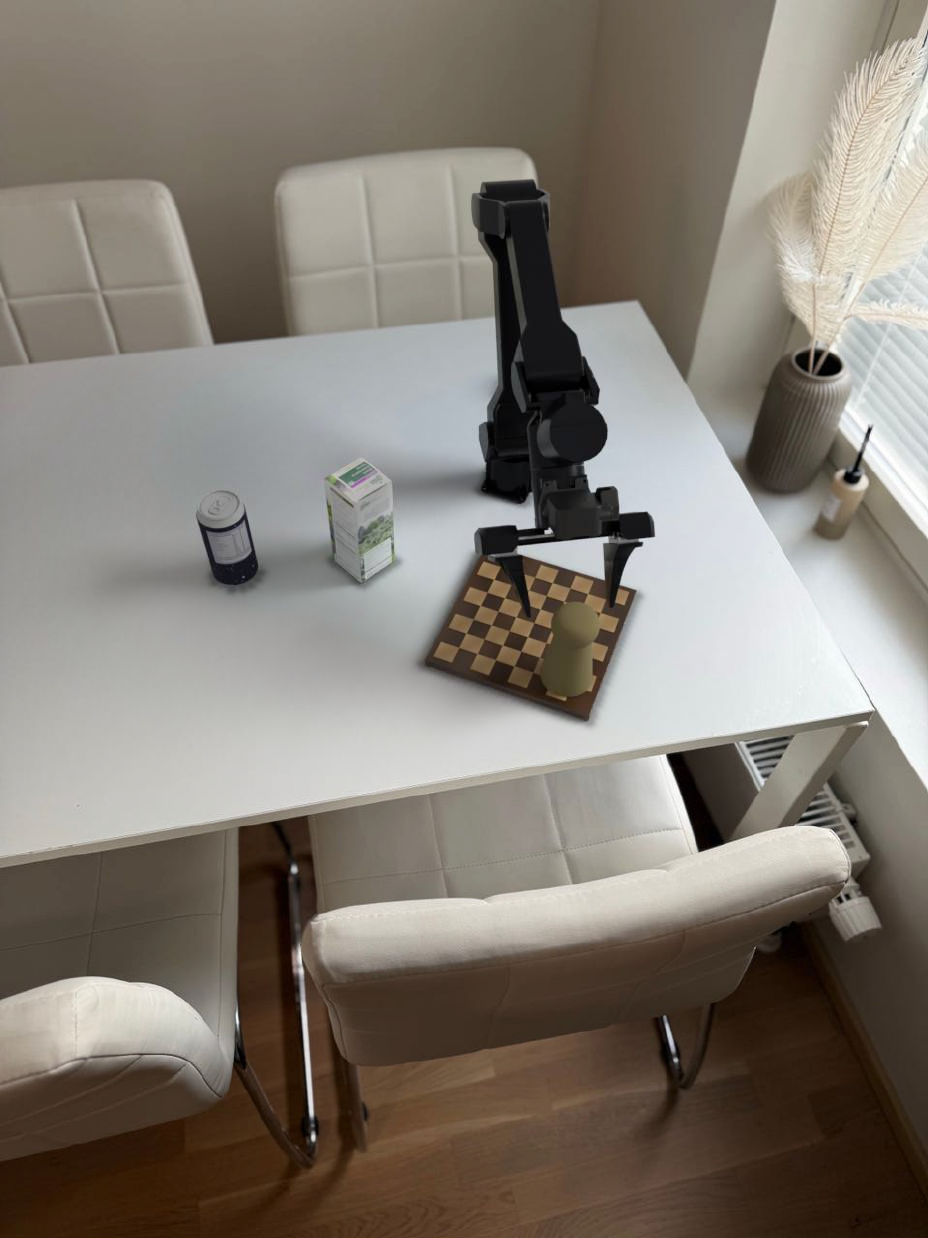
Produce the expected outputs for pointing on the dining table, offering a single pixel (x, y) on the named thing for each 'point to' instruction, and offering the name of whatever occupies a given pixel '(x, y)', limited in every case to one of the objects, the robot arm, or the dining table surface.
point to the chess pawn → (570, 650)
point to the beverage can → (227, 537)
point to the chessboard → (525, 631)
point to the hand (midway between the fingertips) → (569, 612)
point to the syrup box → (360, 519)
